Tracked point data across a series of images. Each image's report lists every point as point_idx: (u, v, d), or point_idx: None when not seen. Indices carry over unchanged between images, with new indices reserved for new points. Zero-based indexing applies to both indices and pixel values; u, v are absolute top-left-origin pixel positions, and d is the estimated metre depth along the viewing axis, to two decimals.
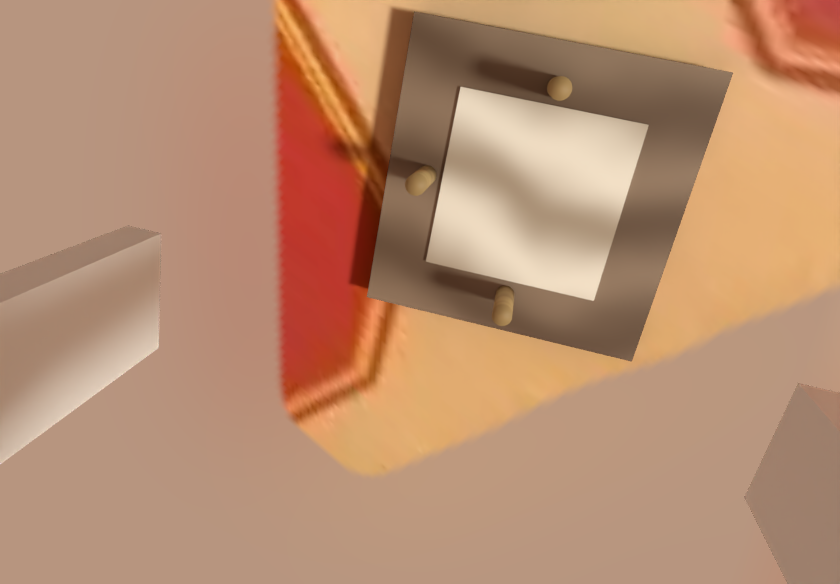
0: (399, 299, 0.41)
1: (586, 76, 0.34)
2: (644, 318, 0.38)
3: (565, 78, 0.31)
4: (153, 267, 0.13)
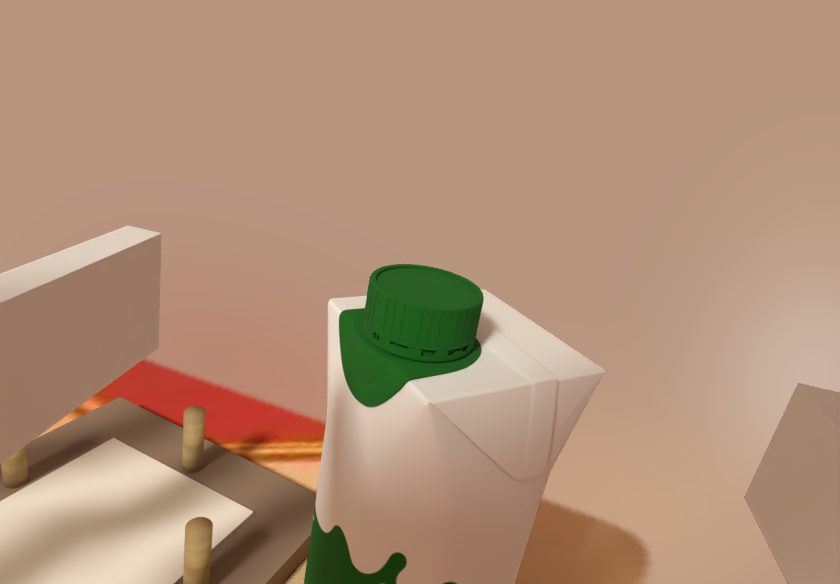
0: (95, 413, 0.40)
1: None
2: None
3: (205, 532, 0.28)
4: (152, 267, 0.13)
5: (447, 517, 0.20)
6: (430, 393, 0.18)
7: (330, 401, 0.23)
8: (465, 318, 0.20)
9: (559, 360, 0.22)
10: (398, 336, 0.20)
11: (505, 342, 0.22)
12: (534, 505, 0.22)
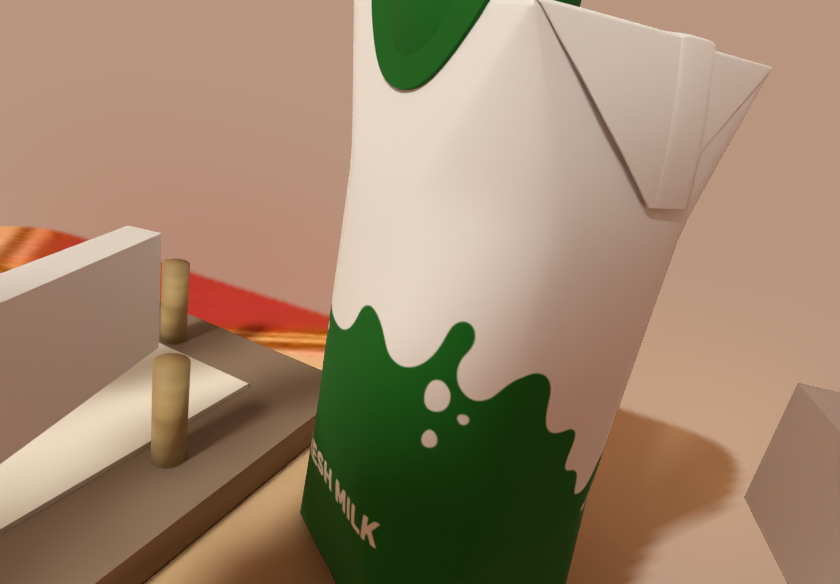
0: None
1: (154, 488, 0.20)
2: None
3: (180, 367, 0.20)
4: (153, 267, 0.13)
5: (545, 249, 0.13)
6: None
7: (357, 128, 0.16)
8: None
9: None
10: None
11: None
12: (662, 271, 0.15)
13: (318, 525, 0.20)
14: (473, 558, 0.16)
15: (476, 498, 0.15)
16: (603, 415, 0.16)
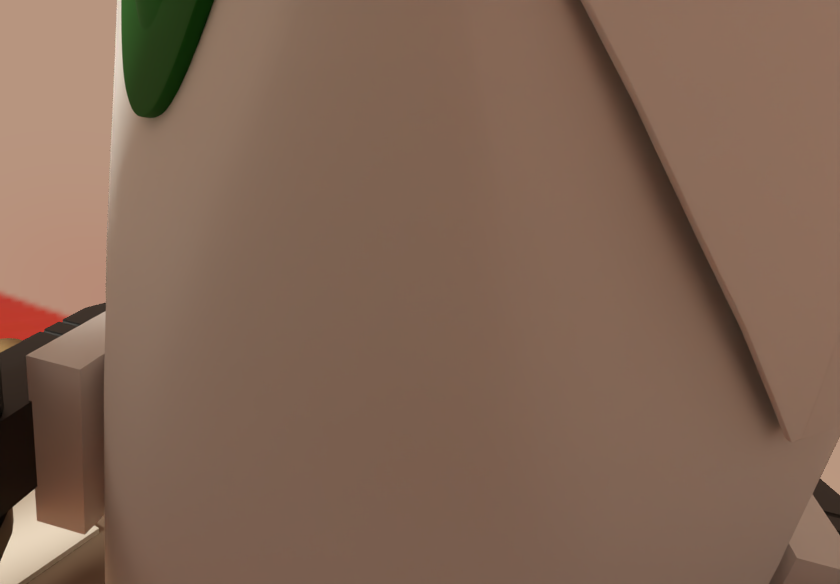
0: None
1: None
2: None
3: None
4: None
5: None
6: None
7: (110, 194, 0.07)
8: None
9: None
10: None
11: None
12: (790, 537, 0.06)
13: None
14: None
15: None
16: None
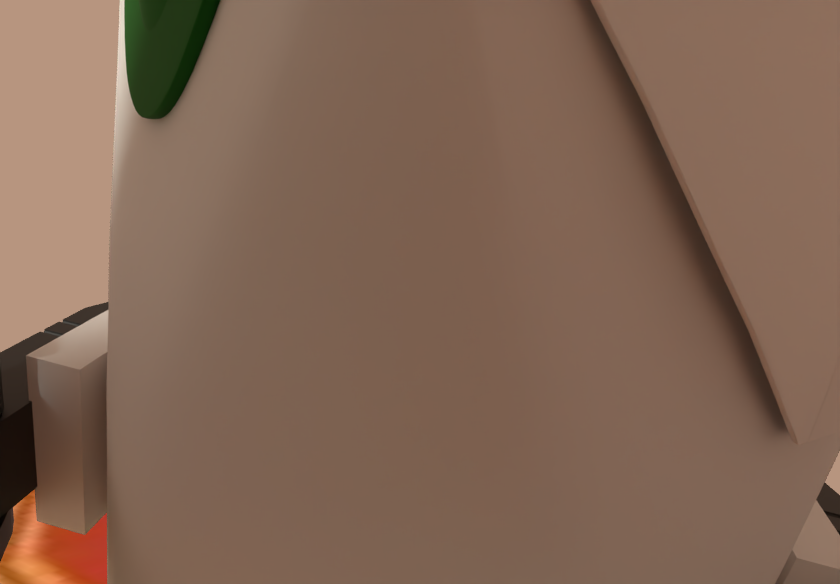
0: None
1: None
2: None
3: None
4: None
5: None
6: None
7: (113, 195, 0.07)
8: None
9: None
10: None
11: None
12: (795, 540, 0.06)
13: None
14: None
15: None
16: None
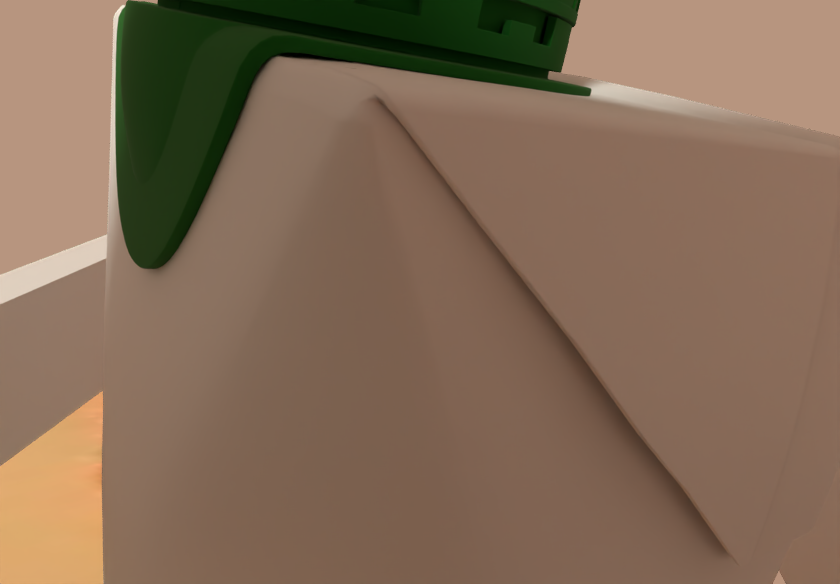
0: None
1: None
2: None
3: None
4: None
5: None
6: (383, 76, 0.03)
7: (106, 297, 0.08)
8: None
9: None
10: None
11: (655, 93, 0.07)
12: None
13: None
14: None
15: None
16: None
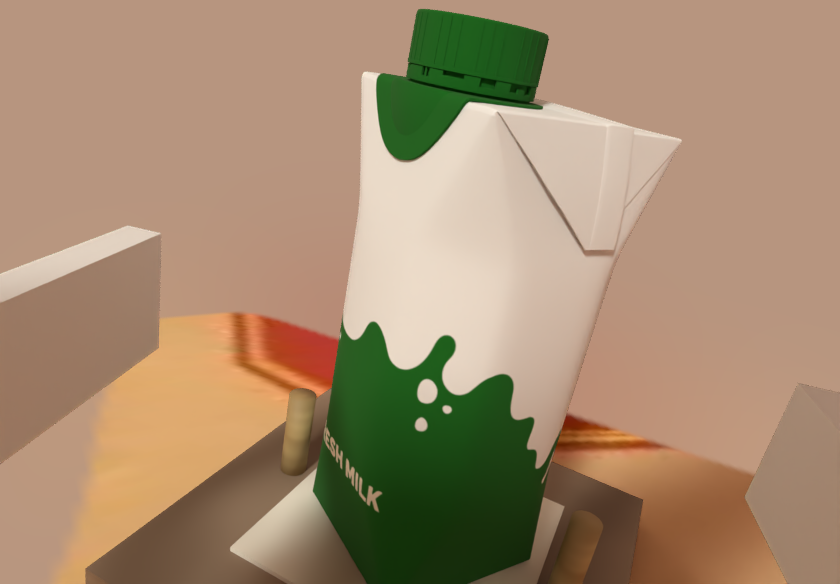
0: None
1: None
2: None
3: (600, 529, 0.23)
4: (152, 267, 0.13)
5: (506, 282, 0.17)
6: (495, 107, 0.15)
7: (364, 183, 0.20)
8: (531, 44, 0.17)
9: None
10: (453, 63, 0.17)
11: (567, 108, 0.19)
12: (599, 295, 0.19)
13: (329, 499, 0.25)
14: (455, 518, 0.20)
15: (457, 470, 0.20)
16: (556, 406, 0.20)
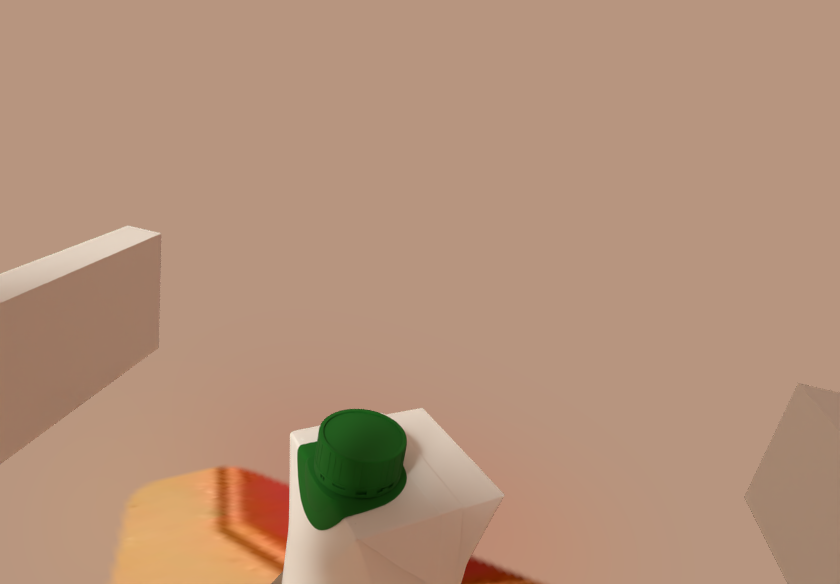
0: None
1: None
2: None
3: None
4: (152, 267, 0.13)
5: None
6: (359, 530, 0.24)
7: (291, 514, 0.29)
8: (389, 465, 0.26)
9: (469, 486, 0.28)
10: (338, 480, 0.26)
11: (427, 471, 0.28)
12: None
13: None
14: None
15: None
16: None
